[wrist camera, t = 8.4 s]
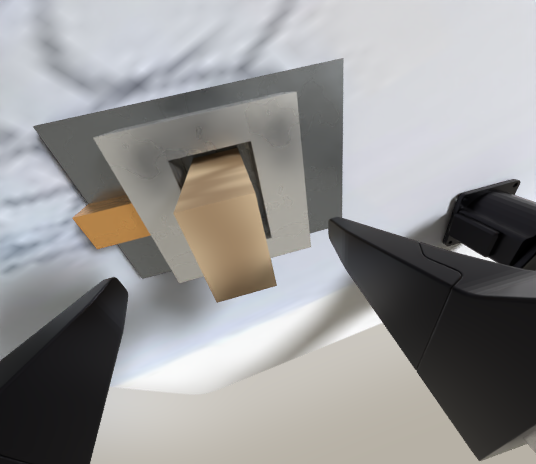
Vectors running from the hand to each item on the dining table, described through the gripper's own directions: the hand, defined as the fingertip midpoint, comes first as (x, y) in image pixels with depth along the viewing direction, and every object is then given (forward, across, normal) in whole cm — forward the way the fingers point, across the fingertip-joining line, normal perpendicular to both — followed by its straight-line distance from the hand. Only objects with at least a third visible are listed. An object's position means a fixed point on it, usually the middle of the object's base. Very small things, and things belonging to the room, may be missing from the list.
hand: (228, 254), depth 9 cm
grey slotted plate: (+9, 0, 0) cm, 9 cm away
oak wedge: (+8, 0, 0) cm, 8 cm away
